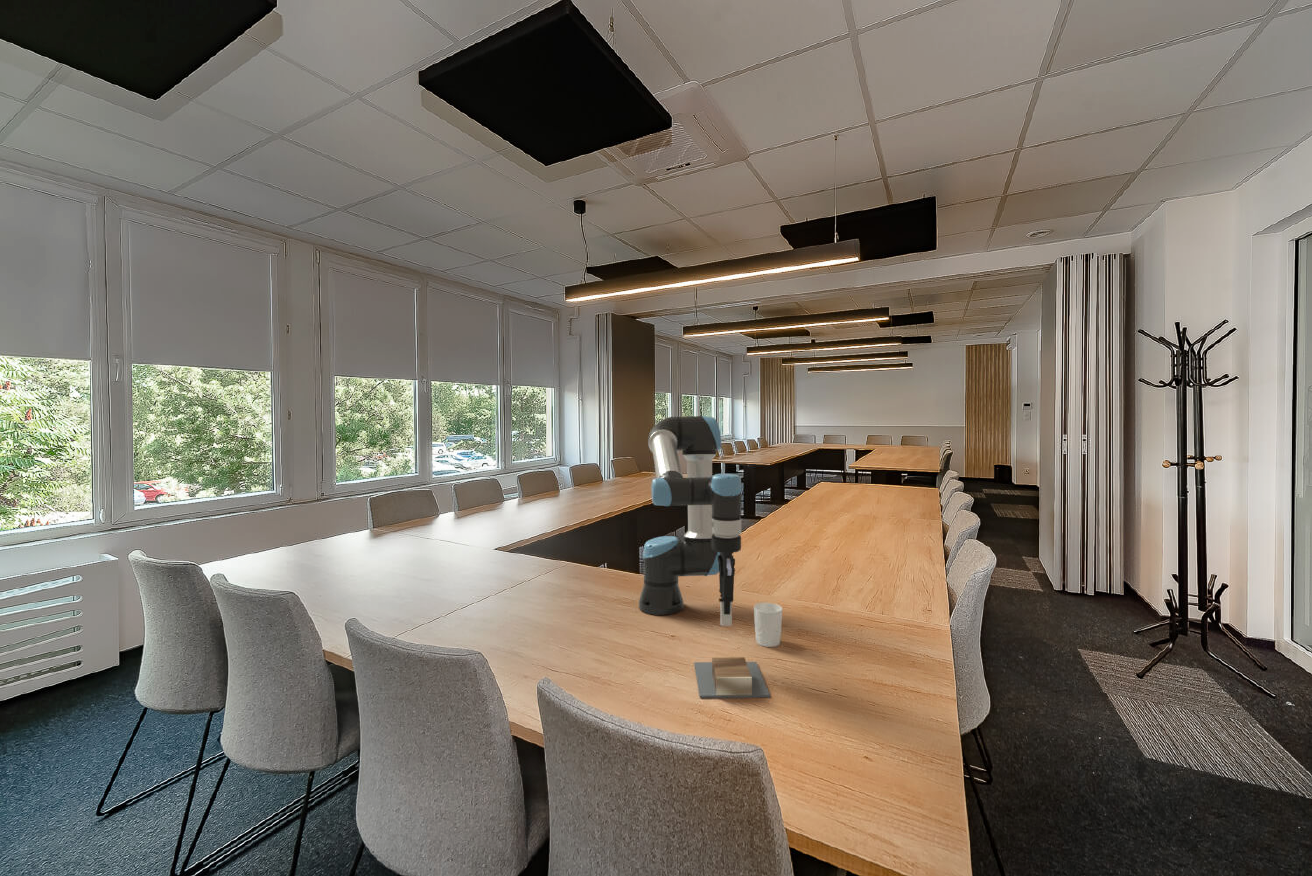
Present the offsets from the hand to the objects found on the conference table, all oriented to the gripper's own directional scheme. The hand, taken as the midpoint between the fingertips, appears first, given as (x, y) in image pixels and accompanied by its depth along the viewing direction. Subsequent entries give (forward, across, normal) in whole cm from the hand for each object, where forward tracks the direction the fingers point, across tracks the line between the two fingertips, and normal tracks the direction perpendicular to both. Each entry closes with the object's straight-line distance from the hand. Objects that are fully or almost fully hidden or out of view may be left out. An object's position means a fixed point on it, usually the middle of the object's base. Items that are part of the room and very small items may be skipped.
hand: (726, 624), depth 132 cm
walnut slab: (+8, +6, 0) cm, 10 cm away
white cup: (+11, -12, +14) cm, 21 cm away
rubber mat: (+10, +9, 0) cm, 13 cm away
